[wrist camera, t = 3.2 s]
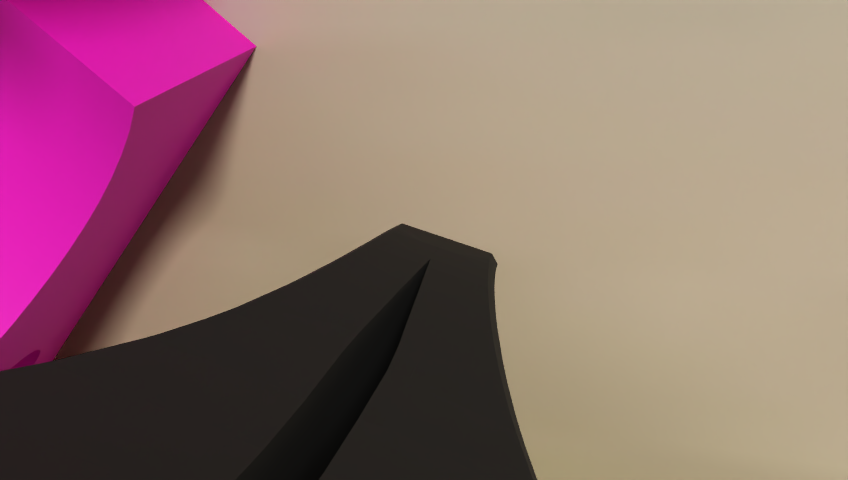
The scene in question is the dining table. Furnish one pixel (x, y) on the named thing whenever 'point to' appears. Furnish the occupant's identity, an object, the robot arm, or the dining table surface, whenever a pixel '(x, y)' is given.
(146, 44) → the toy block
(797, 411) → the dining table surface
